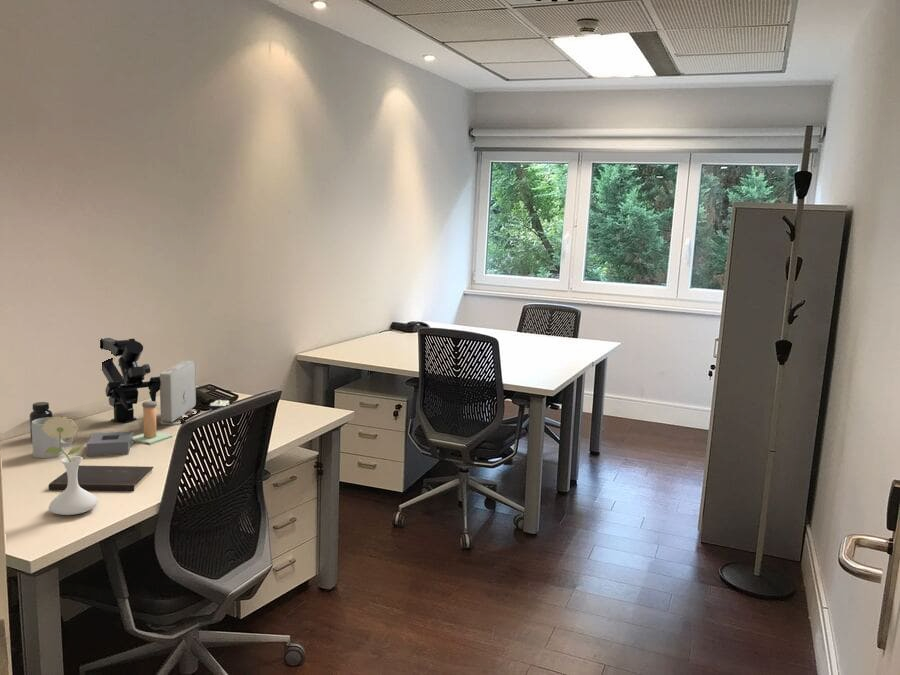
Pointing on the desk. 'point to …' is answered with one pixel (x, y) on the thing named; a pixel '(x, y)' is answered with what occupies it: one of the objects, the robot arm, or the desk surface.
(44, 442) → the mug
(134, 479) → the hardcover book
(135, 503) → the desk surface
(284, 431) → the desk surface
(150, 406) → the plug
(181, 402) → the network device
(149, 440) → the mat
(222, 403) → the pneumatic valve
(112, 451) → the grey peg hole block
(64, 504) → the flower in vase
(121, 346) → the robot arm
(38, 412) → the supplement bottle
